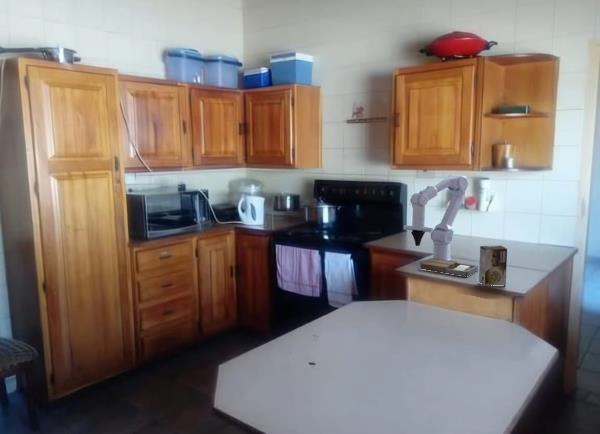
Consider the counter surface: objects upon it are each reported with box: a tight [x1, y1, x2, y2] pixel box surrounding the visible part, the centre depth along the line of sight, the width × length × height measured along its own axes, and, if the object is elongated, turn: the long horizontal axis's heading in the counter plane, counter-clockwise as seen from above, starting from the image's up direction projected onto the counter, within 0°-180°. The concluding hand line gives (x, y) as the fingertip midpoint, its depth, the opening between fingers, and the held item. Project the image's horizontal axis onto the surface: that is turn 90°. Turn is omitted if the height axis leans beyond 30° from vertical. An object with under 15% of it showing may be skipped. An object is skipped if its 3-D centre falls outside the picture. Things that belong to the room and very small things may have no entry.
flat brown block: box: [420, 257, 458, 273], centre depth 225 cm, size 14×12×3 cm
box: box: [446, 262, 479, 278], centre depth 218 cm, size 14×10×2 cm
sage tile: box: [453, 267, 467, 271], centre depth 216 cm, size 4×4×2 cm
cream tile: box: [457, 265, 470, 271], centre depth 220 cm, size 4×4×2 cm
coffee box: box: [478, 245, 508, 287], centre depth 198 cm, size 9×6×16 cm
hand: (417, 245), depth 233 cm, fingers closed
